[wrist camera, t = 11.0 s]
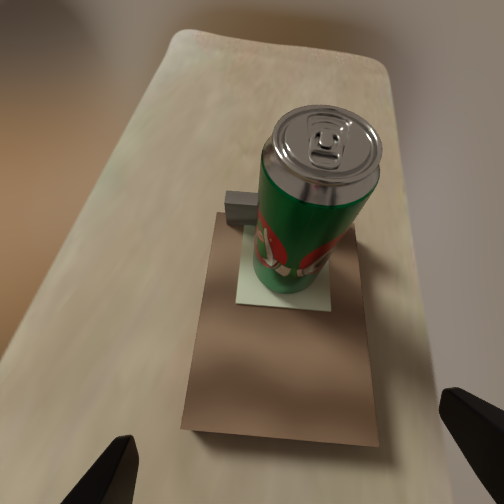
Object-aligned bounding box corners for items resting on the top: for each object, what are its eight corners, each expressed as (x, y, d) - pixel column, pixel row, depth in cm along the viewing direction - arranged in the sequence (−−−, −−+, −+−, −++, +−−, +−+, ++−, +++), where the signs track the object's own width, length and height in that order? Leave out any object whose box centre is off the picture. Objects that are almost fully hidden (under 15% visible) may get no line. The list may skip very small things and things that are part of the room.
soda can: (319, 243, 22) (390, 108, 11) (313, 302, 20) (396, 201, 9) (258, 232, 22) (273, 90, 12) (246, 289, 20) (251, 176, 9)
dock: (365, 441, 18) (406, 458, 13) (186, 425, 18) (167, 436, 14) (346, 235, 25) (368, 202, 21) (218, 224, 25) (213, 189, 21)
